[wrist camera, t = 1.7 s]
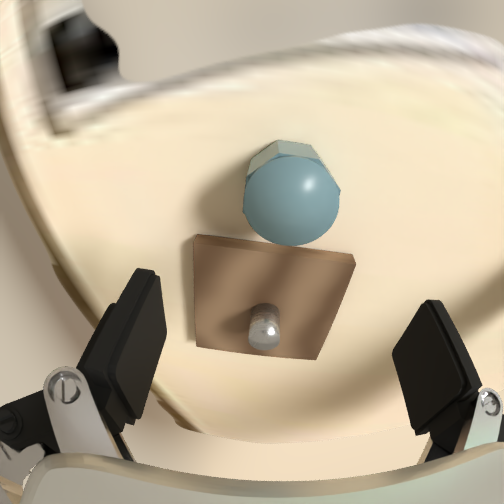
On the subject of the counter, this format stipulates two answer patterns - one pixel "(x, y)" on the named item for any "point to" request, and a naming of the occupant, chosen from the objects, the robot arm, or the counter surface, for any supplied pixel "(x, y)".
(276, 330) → the post
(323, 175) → the cap
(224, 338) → the brown flat square piece
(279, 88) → the counter surface
